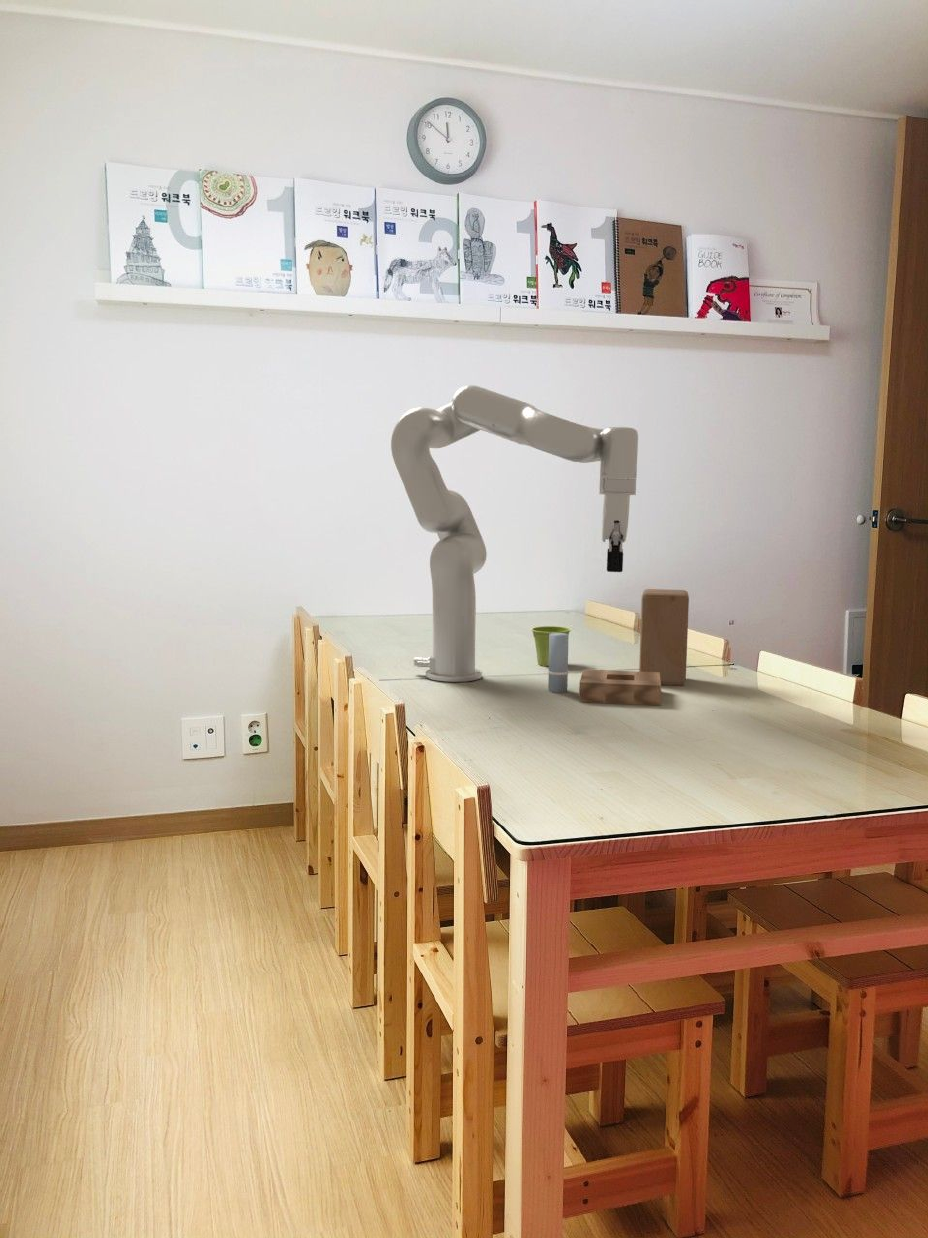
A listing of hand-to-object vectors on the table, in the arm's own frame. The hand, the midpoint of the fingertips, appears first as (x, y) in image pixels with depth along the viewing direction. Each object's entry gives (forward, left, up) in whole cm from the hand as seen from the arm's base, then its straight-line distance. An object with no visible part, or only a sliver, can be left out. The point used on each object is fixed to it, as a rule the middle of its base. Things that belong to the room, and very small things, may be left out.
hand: (614, 569), depth 213 cm
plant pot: (-15, +25, -26) cm, 39 cm away
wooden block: (+11, +10, -26) cm, 30 cm away
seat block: (+2, -8, -25) cm, 27 cm away
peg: (-11, -5, -25) cm, 28 cm away
